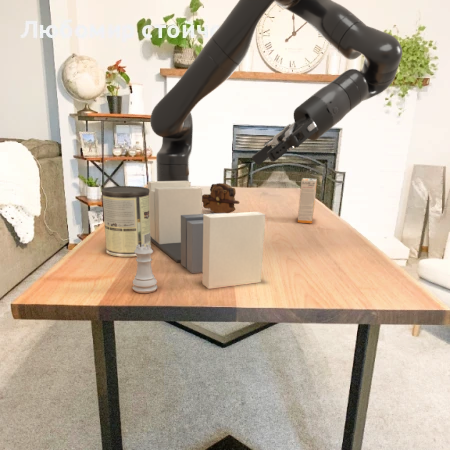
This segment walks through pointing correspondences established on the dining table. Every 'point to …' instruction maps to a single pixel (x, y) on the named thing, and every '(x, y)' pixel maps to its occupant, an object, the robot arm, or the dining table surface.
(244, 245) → the white book
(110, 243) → the coffee can
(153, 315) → the dining table surface
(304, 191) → the supplement box
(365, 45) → the robot arm
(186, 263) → the grey books
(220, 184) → the wooden carving
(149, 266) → the rook chess piece
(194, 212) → the white books
